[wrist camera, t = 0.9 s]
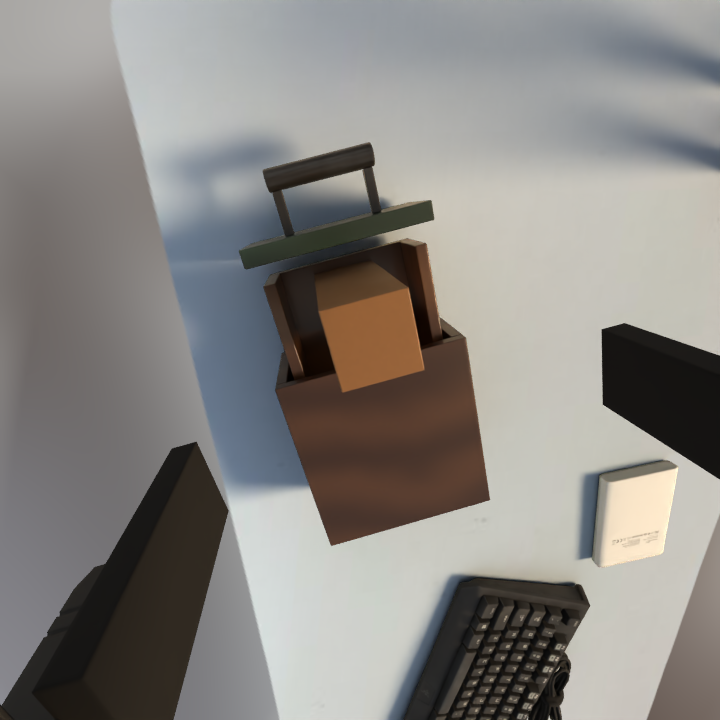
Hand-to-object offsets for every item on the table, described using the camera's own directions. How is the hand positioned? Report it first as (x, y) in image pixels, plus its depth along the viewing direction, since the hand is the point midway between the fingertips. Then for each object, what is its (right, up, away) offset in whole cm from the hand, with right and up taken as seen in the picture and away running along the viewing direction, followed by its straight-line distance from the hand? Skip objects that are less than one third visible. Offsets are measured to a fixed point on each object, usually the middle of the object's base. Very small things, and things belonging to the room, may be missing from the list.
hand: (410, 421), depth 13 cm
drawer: (-3, +8, +19) cm, 21 cm away
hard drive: (+29, -15, +33) cm, 47 cm away
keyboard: (+16, -41, +41) cm, 60 cm away
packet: (-2, +7, +18) cm, 20 cm away
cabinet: (0, -2, +24) cm, 24 cm away
